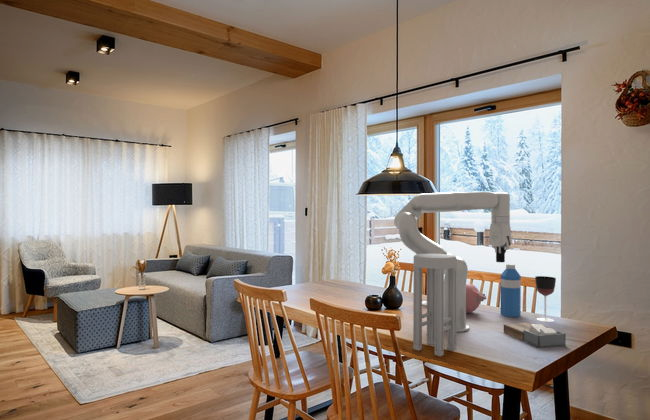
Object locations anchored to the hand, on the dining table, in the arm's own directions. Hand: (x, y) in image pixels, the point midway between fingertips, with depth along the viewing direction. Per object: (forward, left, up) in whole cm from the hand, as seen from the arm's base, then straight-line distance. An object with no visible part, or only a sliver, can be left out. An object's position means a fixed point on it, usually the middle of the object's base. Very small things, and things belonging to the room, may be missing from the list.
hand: (500, 262), depth 191 cm
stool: (-42, -20, -29) cm, 55 cm away
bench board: (+3, -12, -29) cm, 32 cm away
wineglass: (+30, +8, -29) cm, 43 cm away
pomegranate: (+1, +27, -29) cm, 40 cm away
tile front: (+3, -23, -25) cm, 35 cm away
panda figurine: (-7, +52, -29) cm, 60 cm away
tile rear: (+3, -21, -26) cm, 34 cm away
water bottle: (+20, +20, -29) cm, 41 cm away
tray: (+3, -23, -29) cm, 37 cm away
